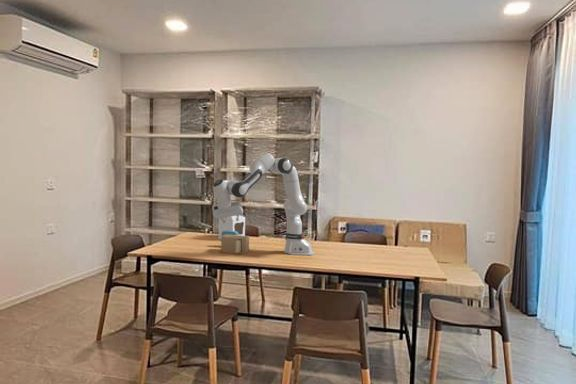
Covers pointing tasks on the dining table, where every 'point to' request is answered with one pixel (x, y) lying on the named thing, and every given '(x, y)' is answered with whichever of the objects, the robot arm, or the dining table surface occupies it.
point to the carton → (234, 243)
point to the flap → (238, 245)
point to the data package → (229, 232)
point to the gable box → (232, 225)
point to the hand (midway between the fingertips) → (231, 221)
